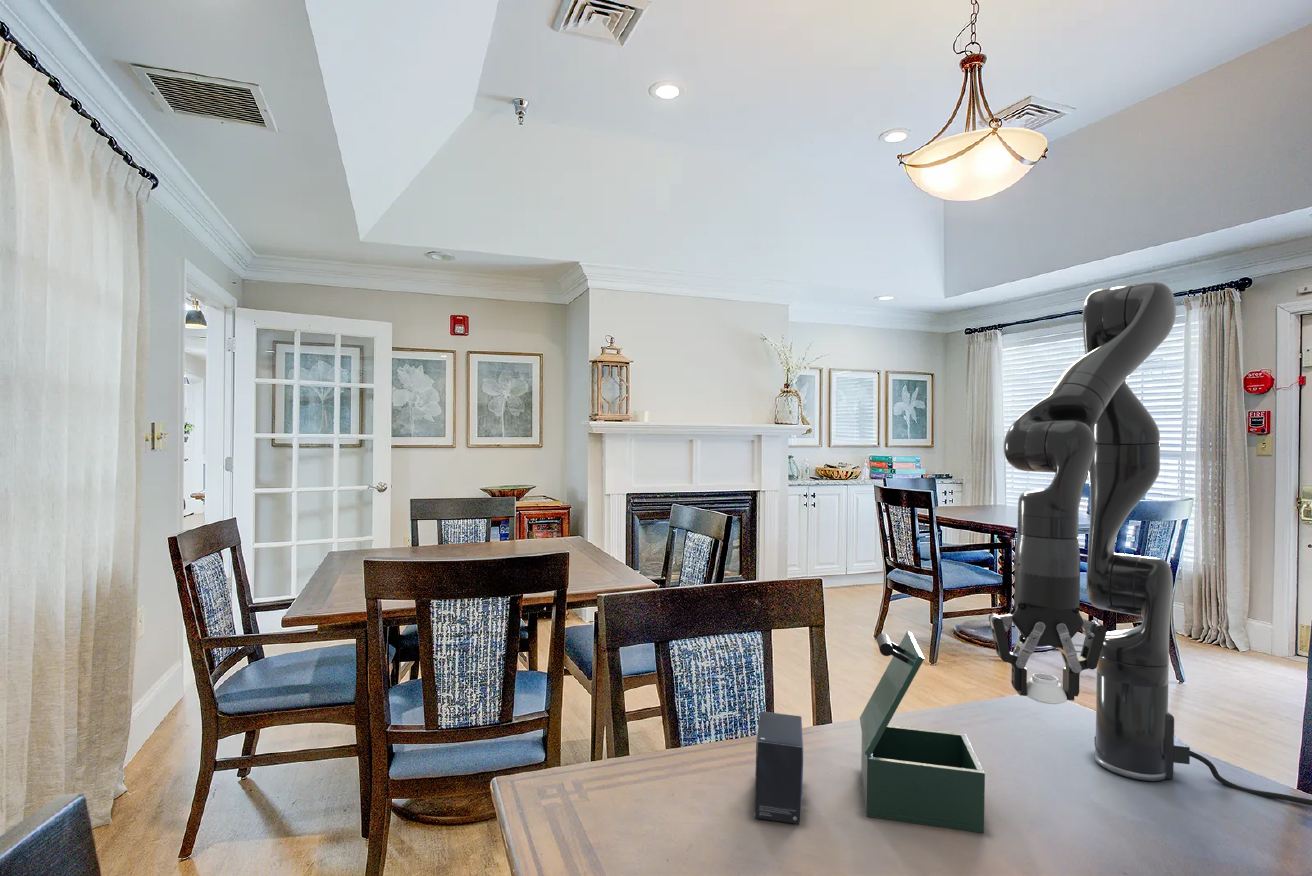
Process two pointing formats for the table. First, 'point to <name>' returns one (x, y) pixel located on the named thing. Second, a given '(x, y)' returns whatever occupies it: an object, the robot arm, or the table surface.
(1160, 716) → the robot arm
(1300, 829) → the table surface
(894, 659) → the bin lid
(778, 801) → the small box
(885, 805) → the waste bin
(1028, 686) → the white jar
